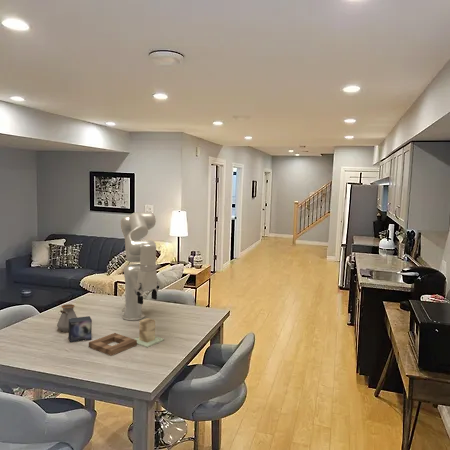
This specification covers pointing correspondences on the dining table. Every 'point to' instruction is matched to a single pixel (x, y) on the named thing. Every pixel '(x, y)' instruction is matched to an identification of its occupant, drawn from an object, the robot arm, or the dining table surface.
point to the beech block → (147, 330)
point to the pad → (148, 344)
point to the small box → (80, 329)
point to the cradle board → (103, 345)
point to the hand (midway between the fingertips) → (147, 301)
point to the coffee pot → (66, 317)
